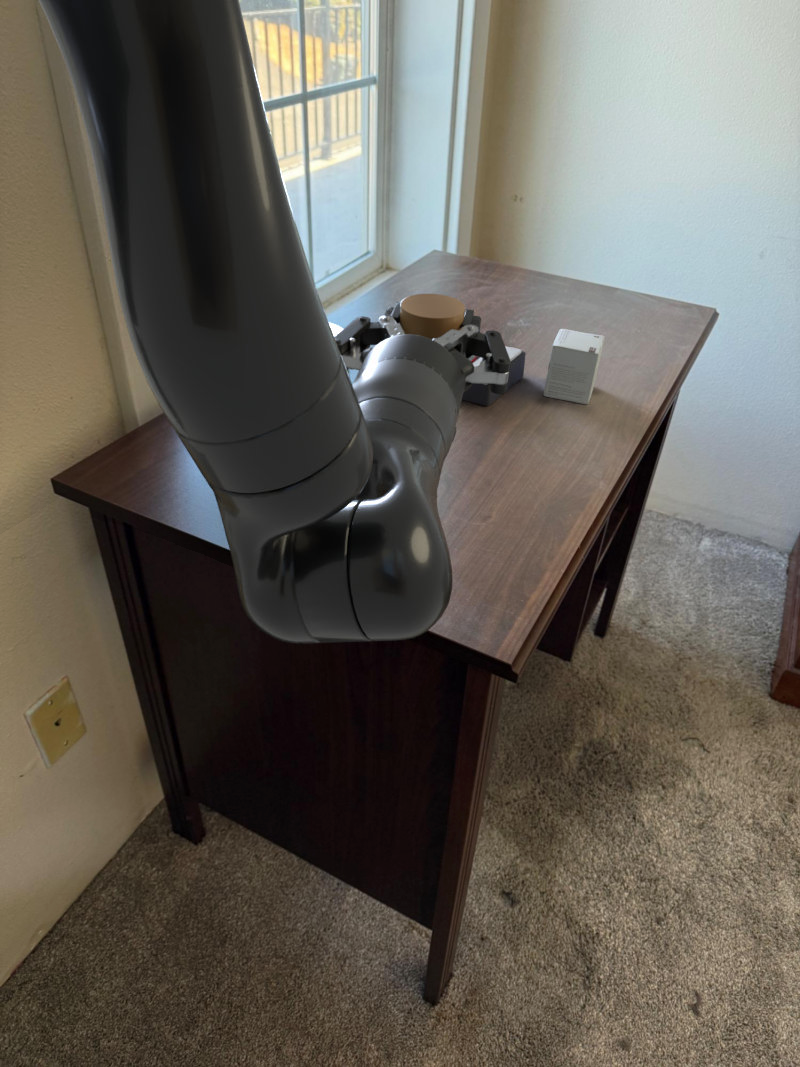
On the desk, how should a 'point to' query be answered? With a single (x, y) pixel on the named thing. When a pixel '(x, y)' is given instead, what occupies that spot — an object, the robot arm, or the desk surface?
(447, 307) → the tall wooden cylinder
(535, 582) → the desk surface
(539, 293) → the desk surface
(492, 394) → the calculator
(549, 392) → the white cardboard box
